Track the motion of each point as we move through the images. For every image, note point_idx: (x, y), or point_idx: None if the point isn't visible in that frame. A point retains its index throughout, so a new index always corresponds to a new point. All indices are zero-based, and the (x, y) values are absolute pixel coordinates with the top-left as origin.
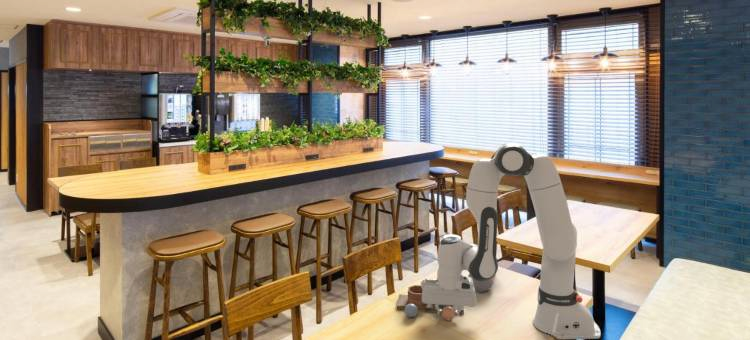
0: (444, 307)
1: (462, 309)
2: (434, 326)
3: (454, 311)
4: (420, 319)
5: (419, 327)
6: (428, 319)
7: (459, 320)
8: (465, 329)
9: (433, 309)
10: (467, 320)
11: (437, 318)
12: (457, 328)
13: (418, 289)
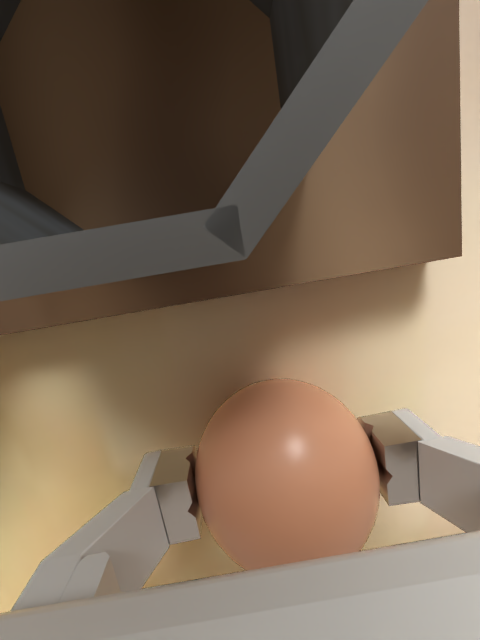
0: (230, 526)
1: (441, 235)
2: (172, 572)
3: (379, 495)
4: (9, 506)
5: None
6: (83, 482)
7: (383, 406)
8: (440, 534)
9: (66, 322)
10: (461, 381)
11: (163, 437)
12: (372, 541)
13: None
